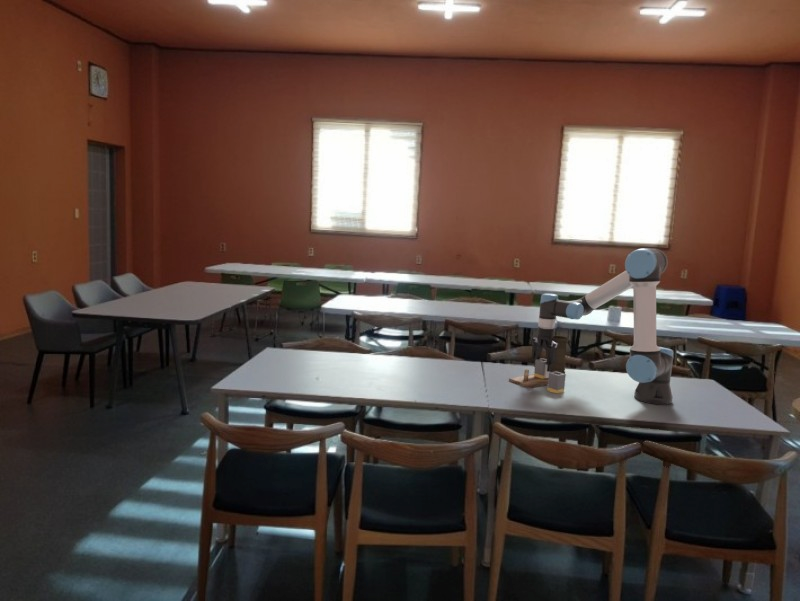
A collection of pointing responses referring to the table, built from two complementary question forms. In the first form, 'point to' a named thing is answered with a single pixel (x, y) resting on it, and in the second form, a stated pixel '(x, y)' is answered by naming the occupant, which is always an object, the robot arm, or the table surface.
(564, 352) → the container
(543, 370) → the sleeve
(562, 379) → the sleeve
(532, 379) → the pin board
